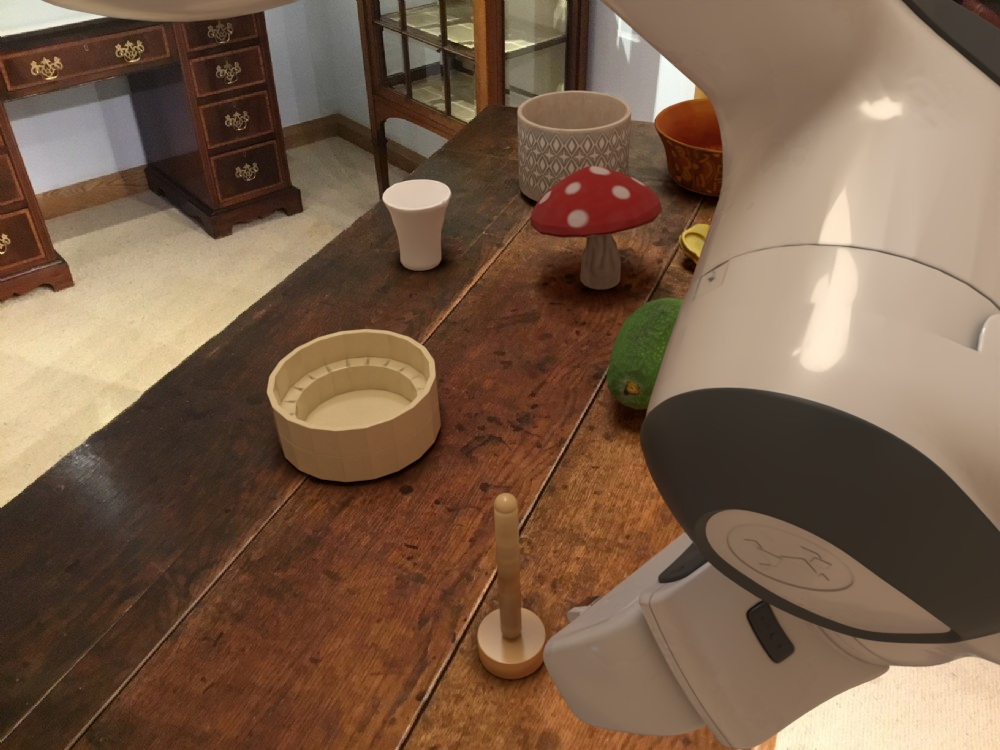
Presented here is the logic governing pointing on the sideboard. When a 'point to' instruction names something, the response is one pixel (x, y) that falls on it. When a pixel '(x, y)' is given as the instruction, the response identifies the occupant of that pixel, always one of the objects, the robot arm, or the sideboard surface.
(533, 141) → the planter
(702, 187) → the bowl
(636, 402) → the fruit
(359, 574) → the sideboard surface
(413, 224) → the cup
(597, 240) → the decorative mushroom
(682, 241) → the shrine
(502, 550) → the wooden dowel stand
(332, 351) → the mixing bowl
